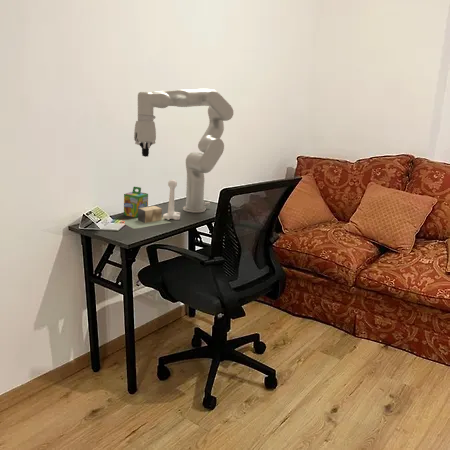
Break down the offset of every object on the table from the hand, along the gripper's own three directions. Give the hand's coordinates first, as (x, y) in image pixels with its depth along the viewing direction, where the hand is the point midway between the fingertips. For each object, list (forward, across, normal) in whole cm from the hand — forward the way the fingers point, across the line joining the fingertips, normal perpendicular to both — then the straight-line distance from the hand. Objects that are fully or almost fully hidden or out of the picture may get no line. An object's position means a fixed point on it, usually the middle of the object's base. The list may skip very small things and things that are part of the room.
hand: (145, 156), depth 235 cm
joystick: (+31, -10, +11) cm, 34 cm away
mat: (+31, +6, +10) cm, 33 cm away
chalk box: (+31, +3, -4) cm, 32 cm away
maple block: (+28, +7, +8) cm, 30 cm away
